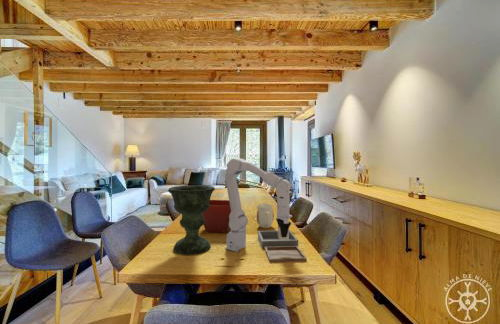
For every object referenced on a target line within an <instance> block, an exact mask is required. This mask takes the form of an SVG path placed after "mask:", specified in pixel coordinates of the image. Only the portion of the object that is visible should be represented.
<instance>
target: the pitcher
mask: <svg viewBox="0 0 500 324" xmlns="http://www.w3.org/2000/svg"><path fill="white" fill-rule="evenodd" d="M256 207H257V211H256V221H257V225H258V226H259V227H260V228H262V229H268V228H271V227H272V225H273V221H274V219H275V218H274V216H275V214H274V206H273V205H272V204H268V203H265V202H261V203H260V204H257V205H256Z"/></svg>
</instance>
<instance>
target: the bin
mask: <svg viewBox="0 0 500 324" xmlns="http://www.w3.org/2000/svg"><path fill="white" fill-rule="evenodd" d="M257 241H258V242H259V244H260V246H261V248H262V249H265V247H271V246H298V247H299V239H298V238H297V237H296V236H295V235H294V233H293V232H292V230H290V229H289V239H279V238H278V230H257Z"/></svg>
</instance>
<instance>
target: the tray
mask: <svg viewBox="0 0 500 324" xmlns="http://www.w3.org/2000/svg"><path fill="white" fill-rule="evenodd" d="M264 252H265V254H266V257H267V260H268V262H269V263H291V262H295V263H296V262H297V263H298V262H307V261H308V260H307V257H306V256H305V254H304V253H303V251H302V250H301V248H300V247H299V245H298V246H271V247H265V248H264Z"/></svg>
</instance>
